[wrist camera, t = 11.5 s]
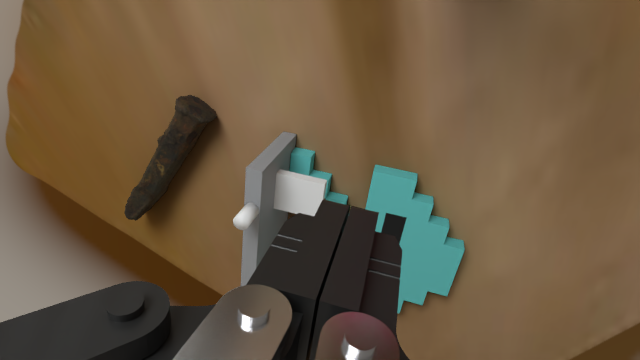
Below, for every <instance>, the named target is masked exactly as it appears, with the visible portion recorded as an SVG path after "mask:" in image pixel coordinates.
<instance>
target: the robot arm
mask: <svg viewBox="0 0 640 360" xmlns="http://www.w3.org/2000/svg"><path fill="white" fill-rule="evenodd" d="M349 209H350V206H349V205H345V204H341V203H336V202H332V201H328V200H324V199H323V200H322V202H321V204H320V206H319V208H318V210H317V212H316V214H315V216H311V215H306V214H302V213H298V214H296V215H295V216H293V217H291V218H290V219H288V220H286V221H285V222H284V224H283V226H282V227H281V229H280V231H279V232H278V235H277V236H276V237H275V239H274V240H273V242H272V244H271V246H270V247H269V248H268V250H267V252H266V253H265V255H264V257H263V258H262V260H261V261H260V263H259V265H258V266H257V268H256V270H255V271H254V273H253V275H252V276H251V278H250V279H249V281H248V283H247V284H246V285H245V286H240V287H238V288H235V289H233V290H231V291H229V292H228V293H226V294H225V295H224V296H223V297H222V298H221V299H220V300H219V302H218V303H217V304H215V305H210V306H170V302H169V297H168V295H167V293H166V292H165V291H164V290H163V289H162V288H161V287H159V286H157V285H155V284H152V283H149V282H142V281H133V282H126V283H121V284H118V285H114V286H111V287H108V288H105V289H102V290H99V291H96V292H93V293H90V294H86V295H83V296H80V297H77V298H75V299H71V300H68V301H65V302H62V303H59V304H56V305H53V306H50V307H47V308H44V309H41V310H38V311H34V312H32V313H28V314H26V315H22V316H19V317H16V318H13V319H10V320H7V321H4V322H1V323H0V360H409V359H408V357H407V356H406V355H405V353H404V352H403V350H402V348H401V347H400V345H399V342H398V339H397V335H396V323H397V311H398V298H399V286H400V274H401V262H402V249H401V247H400V245H399V243H398V241H397V239H396V237H395V236H392V235H388V234H384V233H380V232H376V231H375V230H376V225H377V220H378V215H379V212H375V211H370V210H366V209H362V208H358V207H354V206H352V207H351V210H350V213H349ZM348 215H349V216H348Z"/></svg>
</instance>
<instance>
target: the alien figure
mask: <svg viewBox="0 0 640 360" xmlns="http://www.w3.org/2000/svg"><path fill="white" fill-rule="evenodd" d="M314 157H315V151H311V150H306V149H302V148H297V147H296V148H295V149H294V150H293V151H292V152H291V158H290V168H289V171H290V172H294V173H299V174H303V175H307V176H312V177H316V178H320V179H325V180H327V185H326V191H325V198H326V200H328V201H332V202H336V203H341V204H345V205H347V200H348V196H347V195H343V194H339V193H335V192H330V191H329V190H330V184H331V177H332V174H330V173H326V172H321V171H317V170H313V165H314ZM416 183H417V173H412V172H407V171H403V170H398V169H394V168H389V167H384V166H380V165H375V168H374V172H373V176H372V181H371V185H370V190H369V195H368V199H367V204H366V210H370V211H375V212H379V215H378V220H377V225H376V230H375V231H376V232H380V233H384V234H388V235H392V236H395V237H396V239H397V241H398V243H399V245H400V247H401V249H402V262H401V274H400V286H399V298H398V311H397V313H399V314H400V310H401V307H402V304H403V301H404V300H405V301H409V302H412V303H416V304H420V305H423V302H424V300H425V297H426V294H427V291H429V292H432V293H436V294H440V295H444V296H447V295H448V293H449V290H450V287H451V285H452V282H453V279H454V277H455V274H456V272H457V269H458V266H459V264H460V261H461V258H462V256H463V253H464V251H465V248H464V242H463V241H462V240H458V239H454V238H450V237H446V236H447V233H448V230H449V220H448V219H446V218H442V217H437V216H433V215H430V214H431V211H432V208H433V205H434V204H433V197H432V196H428V195H423V194H419V193H414V190H415V186H416ZM348 216H349V215H348Z"/></svg>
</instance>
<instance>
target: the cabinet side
mask: <svg viewBox="0 0 640 360" xmlns="http://www.w3.org/2000/svg"><path fill="white" fill-rule="evenodd" d="M296 136H297V134H293V133H288V132H283V133H281V134H280V135H279V136H278V137H277V138H276V139H275V140H274V141H273V142H272V143H271V144H270V145H269V146H268V147H267V148H266V149H265V150H264V151H263V152H262V153H261V154H260V155H259V156H258V157H257V158H256V159H255V160H254V161H253V162H252V163H250V164H249V165H248V166H247V167H246V180H245V202H244V207H243V208H242V210H241V211H240V212H239V213H238V214H237V215H236V217H235V218H234V220H233V223H234V225H235V227H236V228H238V229H240V230H243V248H242V270H241V286H245V285H246V284H247V283H248V281H249V279H250V278H251V276H252V275H253V273H254V271H255V270H256V268H257V266H258V265H259V263H260V261H261V260H262V258H263V257H264V255H265V253H266V252H267V250H268V248H269V247H270V246H271V244H272V242H273V240H274V239H275V237H276V236H277V235H278V232H279V231H280V229H281V227H282V226H283V224H284V222H285V221H286V220H287V219H288V212H291V213H295V214H298V213H302V214H306V215H311V216H315V214H316V212H317V210H318V208H319V206H320V204H321V202H322V200H323V199H324V198H325V191H326V185H327V180H325V179H320V178H316V177H312V176H307V175H303V174H299V173H294V172H290V171H289V168H290V158H291V152H292V151H293V150H294V149H295V145H296Z"/></svg>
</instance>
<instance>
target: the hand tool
mask: <svg viewBox="0 0 640 360" xmlns="http://www.w3.org/2000/svg"><path fill="white" fill-rule="evenodd" d="M175 110H176V111H175V115H174V117H173V119H172V121H171V122H170V124H169V127H168V129H167V130H166V131H165V132H164V135H162V136H161V137H159V139H158V144H159V145H158V148H157V149H156V152H155V154H154V155H153V157H152V159H151V161H150V163H149V165H148V167H147V169H146V171H145V173H144V175H143V177H142V179H141V181H140V182H139V184H138V185H137V186H136V187H134V189H133V191H132V192H131V196H130V197H129V198H128V200H127V202H128V203H127V204H126V206H125V207H126V208H125V215H126V217H127V218H128V219H131V220H132V219H134V220H135V221H136V220H138V219H139V218H140V217H141V216H142V215H144V213H146V212H147V211H148V210H150V209H151V208H152V205H154V203H155V202H157V201H158V200H159V199H160V197H161V196H162V195H163V194H164V193H165V192H166V191H167V189H168V185H169V183H170V181H171V180H172V179H173V177H174V176H175V174H176V172H177V171H178V169H179V168H180V167H181V165H182V163H183V161H184V159H185V158H186V156H187V155H188V154H189V152H190V151H191V149H192V148H193V147H194V145H195V144H196V141H197V139H198V138H199V135H200V133H201V132H202V130H203V128H204V127H205V126H206V124H207V123H208V122H211V121H212V120H214V119H215V118H217V117H216V112H215V111H214V110H213V109H212V108H211V107H209V105H208V104H206V103H205V102H204V101H202V100H201V99H199V98H197V97H195V96H192V95H188V96H181V97H179V98H178V99H176V106H175Z"/></svg>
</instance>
